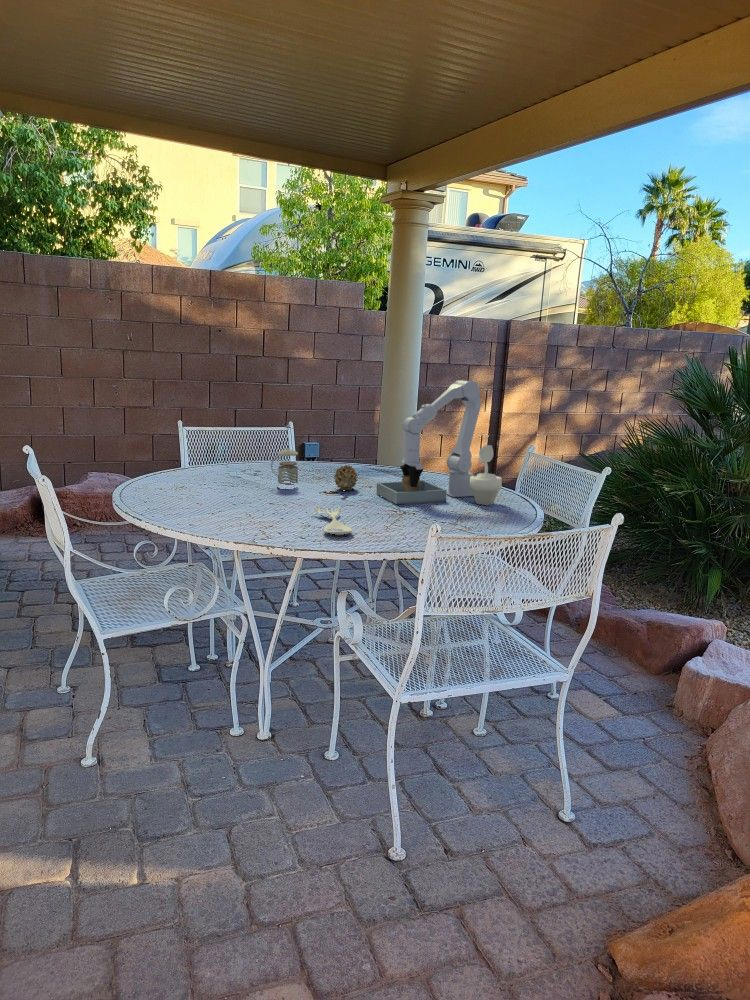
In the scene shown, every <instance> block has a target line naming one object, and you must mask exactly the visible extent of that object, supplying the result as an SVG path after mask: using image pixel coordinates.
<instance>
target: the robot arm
mask: <svg viewBox="0 0 750 1000" xmlns="http://www.w3.org/2000/svg"><path fill="white" fill-rule="evenodd" d="M480 392H481V388H480V387H479V385H478V383H477V382H475V381H473V380H464V379H458V380H456V381H455V382H454V383H452V384H450V385H449V387H447V389H446V390H445V391H443V393H441V395H440V396H439V397H438V398H436V399H435V400H434V401H433V402H432V403H425V404H422V405H421V406H420V407H421V408H420V409H419V410H417V412H414V413H412V414H411V416H410V417H406V418H405V420H404V421H403V423H402V429H403V430H404V453H403V454H404V456H403V458H401V461H400V463H401V465H400V469H401V472H402V476H406V475H410V483H411V487H417V484H418V481H419V477H420V478H421V475H422V473H423V472H424V468H423V463H421V461H420V454H421V452H420V449H421V447H420V446H421V445H420V444H421V432H422V431H423V429H424V428H425V426H426V425H428V423H429V422H431V421H432V420H433V419H434V418H436V417H437V415H438V411H439V410H441V409H442V408H444V407H445V406H446V405H447V404H449V403H450V402H452V401H453V400H455V399H456V400H457V399H460V401H462V403H463V404H464V406H465V408H464V411H463V412H464V413H463V416H462V421H461V424H460V428H459V432H458V436H457V440H456V444H455V446H454V448H452V449H451V451H450V454H449V456H448V457H447V459H446V466H447V467H448V468H449V469H448V472H449V473H448V474H449V476H448V491H447V492H446V496H449V497H452V498H460V497H462V498H464V497H474V494H473V490H472V489H471V488H470V477H471V476H473V475H474V473H473V472H472V471H471V472H470V470H471V468H472V463H473V462H472V457H473V456H472V453H471V450H470V449H471V445H472V441H473V438H474V433H475V430H476V426H477V422H478V419H479V414H480V410H481V406H482V402H481V396H480Z"/></svg>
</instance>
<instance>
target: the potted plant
mask: <svg viewBox="0 0 750 1000" xmlns="http://www.w3.org/2000/svg"><path fill="white" fill-rule="evenodd" d="M496 445H497V447H496V448H498V447H499V446H498V445H499V441H497V443H496ZM503 452H504V450H503V448H502V450H501V453H503ZM493 458H494V448H493V445H492V444H489V445H484V446H482V447H480V449H479V451H478V461H479V462H480V463H482V464H484V472H482V473H481V472H479V473H477V474H473V476H471V477H470V488H471V489H472V490H473V494H474V496H473V497H474V501H475V503H476V504H478V505H480V504H482V505H481V506H491V505H493V504H494V503H495V501H496V498H497V496H498V494H499V492H500V490H502V487H503V486H502V483H503V479H502V477H501V476H497V475H496V474H494V473H489V465H488V463H490V462H491V461H492V460H493ZM490 504H491V505H490Z"/></svg>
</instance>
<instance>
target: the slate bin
mask: <svg viewBox="0 0 750 1000" xmlns="http://www.w3.org/2000/svg"><path fill="white" fill-rule="evenodd" d="M446 492H448V491H447V489H445V488H443V487H440V486H438V485H436V484H434V483H431V482H429V481H426V480H420V485H419V490H418V491H406V490H404V489H402V481H388V482H376V495H377V494H378V495H377V496H379V495H380V496H379V497H381V496H382V497H384V498H386V499H387V500H386V499H385V500H386V501H388V500H389V501H388V502H390V501H391V502H390V503H392V502H393V503H395V504H406V505H416V504H415V503H421V504H434V502H437V503H446V502H447V494H446ZM382 497H381V498H382ZM384 498H383V499H384ZM393 503H392V504H393ZM395 504H394V505H395Z"/></svg>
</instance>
